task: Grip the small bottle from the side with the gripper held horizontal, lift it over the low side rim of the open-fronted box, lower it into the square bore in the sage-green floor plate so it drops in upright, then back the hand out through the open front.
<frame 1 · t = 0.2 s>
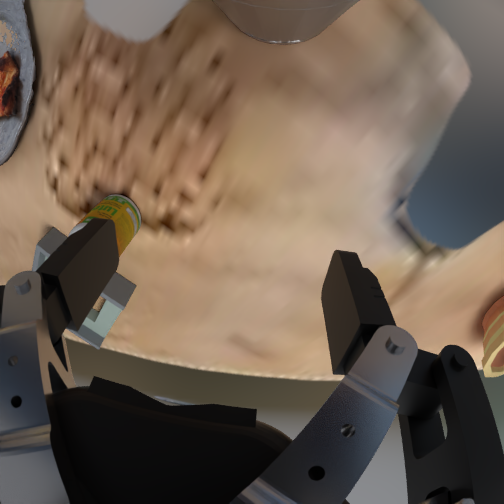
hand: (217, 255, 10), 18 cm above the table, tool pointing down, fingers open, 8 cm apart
potted cactus: (501, 311, 35), on the table
supplement bottle: (121, 214, 30), on the table
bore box: (86, 288, 37), on the table
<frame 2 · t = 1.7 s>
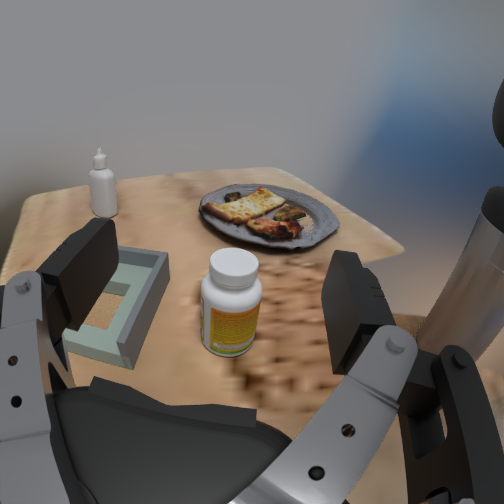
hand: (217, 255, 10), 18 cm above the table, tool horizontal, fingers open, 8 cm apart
eye dropper bottle: (105, 214, 48), on the table
food plate: (268, 220, 53), on the table
supplement bottle: (227, 338, 30), on the table
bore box: (95, 312, 29), on the table
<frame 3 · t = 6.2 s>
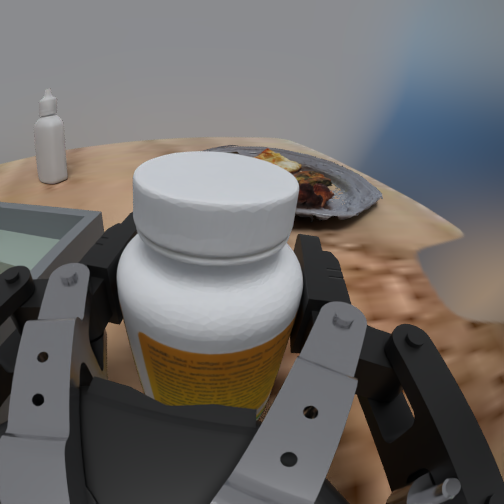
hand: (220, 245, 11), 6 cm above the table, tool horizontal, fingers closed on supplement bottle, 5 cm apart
eye dropper bottle: (53, 180, 31), on the table
food plate: (279, 187, 36), on the table
supplement bottle: (206, 393, 12), on the table, touching gripper
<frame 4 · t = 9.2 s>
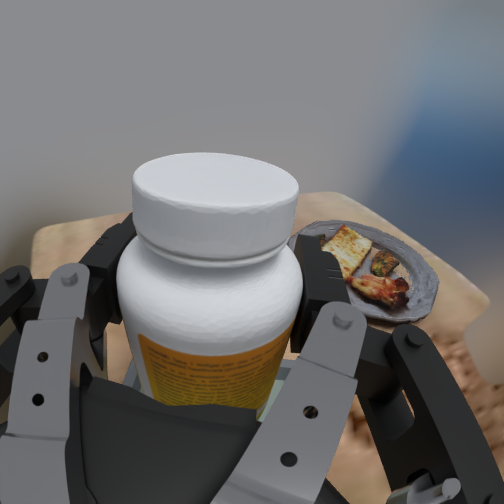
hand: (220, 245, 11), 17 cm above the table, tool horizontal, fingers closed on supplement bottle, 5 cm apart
food plate: (364, 272, 42), on the table
supplement bottle: (206, 394, 12), point 11 cm above the table, touching gripper
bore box: (207, 455, 18), on the table
when the fingers open (9 cm above the table, at t = 12.0 s): supplement bottle drops 3 cm, resting in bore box.
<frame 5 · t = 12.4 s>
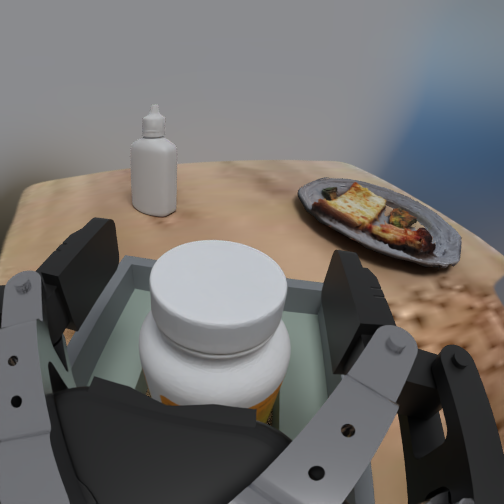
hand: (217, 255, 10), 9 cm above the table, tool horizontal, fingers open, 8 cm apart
eye dropper bottle: (153, 210, 33), on the table
food plate: (381, 226, 38), on the table
supplement bottle: (211, 421, 14), resting in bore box
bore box: (206, 417, 14), on the table
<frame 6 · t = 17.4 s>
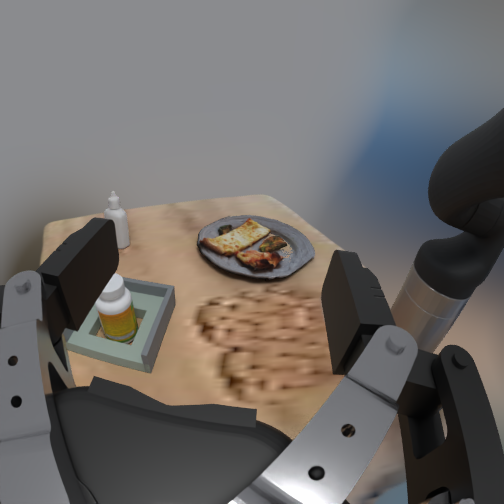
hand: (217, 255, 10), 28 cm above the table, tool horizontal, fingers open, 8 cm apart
eye dropper bottle: (118, 244, 59), on the table
food plate: (254, 250, 64), on the table
supplement bottle: (122, 333, 40), resting in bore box
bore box: (120, 331, 40), on the table
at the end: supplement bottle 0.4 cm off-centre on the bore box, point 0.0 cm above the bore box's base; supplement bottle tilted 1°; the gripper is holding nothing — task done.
